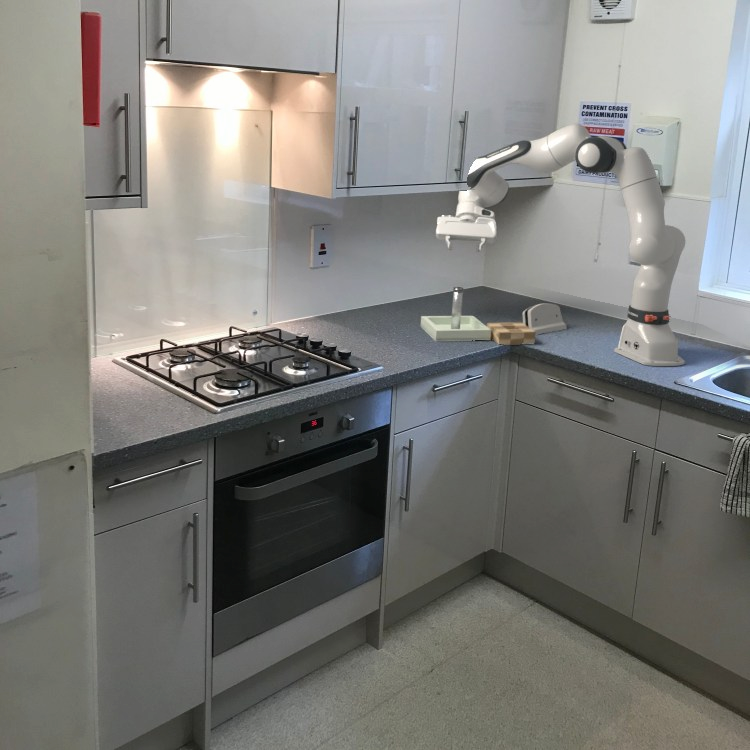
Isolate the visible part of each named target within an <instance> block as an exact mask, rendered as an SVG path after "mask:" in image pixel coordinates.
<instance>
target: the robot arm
mask: <svg viewBox="0 0 750 750" xmlns="http://www.w3.org/2000/svg"><path fill="white" fill-rule="evenodd" d="M573 162H576V164H577V166H578V167H579V168H580V169H581V170H582V171H584V172H586V173H588V174H589V173H590V174H602V175H603V174H608V173H611V174H613V175H614V176H615V177H616V179H617V182H618V186H619V189H620V191H621V196H622V198H623V202H624V205H625V209H626V211H627V216H628V226H629V238H630V240H629V245H628V252H629V256H630V258H631V259H632V260H633V262H635V263H637V264H638V265H640V267H639V268H638V269H639V270H638V272H637V273H636V276H635V278H634V281H633V284H632V285H633V286H632V290H631V291H632V292H631V300H630V304H629V305H628V308H627V321H626V322H625V323H624V324H623V326H622V329H621V332H620V336H619V342H618V345H617V347H615V348H614V349H613V350H614V353H616V354H619V355H621V356H623V357H625V358H627V359H630V360H632V361H634V362H636V363H640V364H642V365H645V366H651V367H653V366H654V367H676V366H683V365H685V364H686V363H685V362H686V361H685V360H684V359H683V358H682V357H681V356H680V355H678V354H679V344H680V339H679V338H677V337H676V336H675V334H674V332H673V330H672V328H671V326H670V324H669V323H670V320H671V315H670V314H669V311H670V310H669V309H668V308H669V303H670V295H671V289H672V283H673V280H674V277H675V275H676V271H677V268H678V264H679V262H680V259H681V255H682V252H683V251H684V249H685V246H686V236H685V234H684V233H683V231H682V230H681V229H680V228H678V227H675V226H672V225H668V224H666V223H665V222H666V220H665V199H664V195H663V192H662V189H661V185H660V181H659V178H658V176H657V173H656V172H657V171H656V169H655V167H654V165H653V163H652V160H651V159H650V157H649V155H648V153H647V151H646V150H645V148H643V147H639V146H630V147H628V148H627V146H626V144H625V143H624V142H623V141H622V140H621V139H620V138H619V139H618V138H617V137H613V136H605V135H599V136H591V134H590V131H589V130H588V129H587V127H585V126H584V125H583V124H580V123H572V124H569V125H567V126H563V127H562V128H561V127H560V128H559V129H558V130H557V129H556V130H555V131H554V132H551V133H550V134H547V135H546V136H544V137H542V138H538V139H533V140H520V141H516V142H513V143H511V144H508V145H506V146H504V147H501V148H499V149H497V150H495V151H492V152H489V153H487V154H485V155H481V156H478V158H477V159H476V160H475V161H474V162H473V164H472V166H471V167H470V170H469V173H468V177H467V185H468V187H471V188H470V189H475V190H467V191H459V190H458V197H457V198H458V200H457V201H458V203H457V205H456V211H455V215H453V214H449V215H447V214H442V215H439V216H438V217H437V218H436V224H437V225H436V229H435V237H436V238H437V240H439V241H441V240H442V241H445V244H446V245H447V250H448V251H453V247H454V246H453V243H452V242H451V241H455V242H470V243H471V242H472V243H479V244H477V245H476V251H475V252H476V253H482V249H483V248H484V247H485V246H486V244H494V243H496V242H497V237H498V236H497V235H498V232H497V229H498V226H497V222H496V215H495V212H494V211H492V210H490V209H488V208H491V207H495V206H498V205H501V204H502V203H503V202H504V201H506V199H507V196H508V194H509V190H510V186H509V183H508V182H507V180H505V179H504V178H503V177H502V175H500V174H499V173H498V172H497V170H500V169H502V168H504V167H507V166H510V165H515V164H516V165H521V166H524V167H527V168H529V169H532V170H534V171H536V172H538V173H542V174H543V173H544V174H550V173H554V172H557V171H558V170H560V169H563V168H564V167H566V166H568V165H570V164H571V163H573ZM485 208H486V209H485Z"/></svg>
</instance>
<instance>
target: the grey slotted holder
mask: <svg viewBox="0 0 750 750" xmlns="http://www.w3.org/2000/svg"><path fill="white" fill-rule="evenodd" d="M522 323H523V324H525V325H526V326H528V327H529V328H530V329H532V330H533V331H535V332H536V334H540V333H545V332H551V331H556V330H561V331H563V330H562V329H566V330H568V329H567V328H568V327H567V324H566V323H565V322H564V319H563V317H562V312H561V308H560V306H559V305H558V304H555V303H547V302H545V303H538V304H534V305H532V306H529V307H528V308H525V310H523V311H522ZM556 332H557V331H556ZM551 333H552V332H551Z"/></svg>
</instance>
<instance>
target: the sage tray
mask: <svg viewBox="0 0 750 750" xmlns="http://www.w3.org/2000/svg"><path fill="white" fill-rule="evenodd" d="M451 319H452V315H428V316H427V315H421V316H420V328H421V329H422V330H424V332H426V334H427V335H429V336H430V337H431V339H433V340H434V342H476V341H475V340H490V341H491V338H490V337H491V330H490V329H489V328H488V327H487V325H485V324H484V323H483V322H482V321H480V320H479V319H478V318H477V317H475V316H474V315H461V323H460V329H451ZM472 340H473V341H472Z"/></svg>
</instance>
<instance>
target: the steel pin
mask: <svg viewBox="0 0 750 750" xmlns="http://www.w3.org/2000/svg"><path fill="white" fill-rule="evenodd" d="M452 291H453V293H452V294H453V296H452V308H451V309H452V310H451V316H452V319H451V329H460V323H461V316H462V310H463V309H462V308H463V294H464V287H460V286H455V287H454V286H453V290H452Z"/></svg>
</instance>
